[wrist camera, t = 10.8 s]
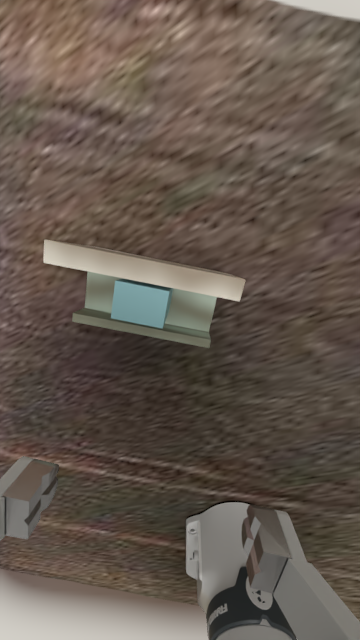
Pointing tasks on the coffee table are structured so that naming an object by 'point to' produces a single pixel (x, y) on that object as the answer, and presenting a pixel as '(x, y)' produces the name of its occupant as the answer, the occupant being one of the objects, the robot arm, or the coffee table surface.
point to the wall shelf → (187, 282)
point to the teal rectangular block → (141, 302)
